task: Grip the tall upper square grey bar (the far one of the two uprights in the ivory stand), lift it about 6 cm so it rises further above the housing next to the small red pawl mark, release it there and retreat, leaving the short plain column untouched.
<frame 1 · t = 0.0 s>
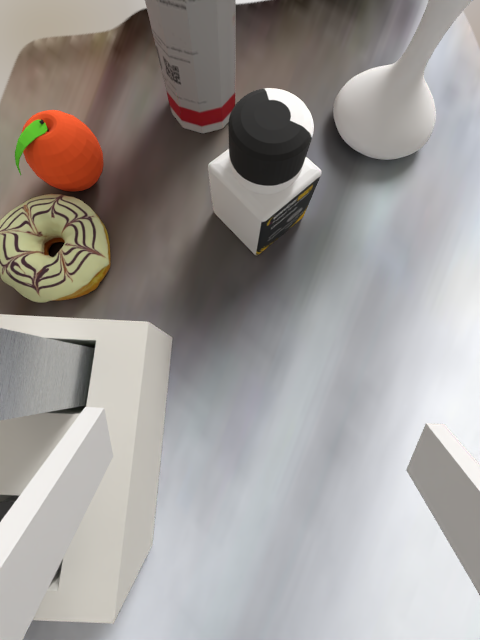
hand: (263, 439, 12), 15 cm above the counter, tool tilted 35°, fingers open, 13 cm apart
housing: (98, 430, 26), on the counter
medicine bottle: (258, 215, 31), on the counter
spray bottle: (203, 107, 34), on the counter
decorated donut: (67, 257, 30), on the counter
clementine: (80, 181, 32), on the counter
upper square grey bar: (41, 374, 18), point 9 cm above the counter, slide at 0.0 cm
column plain: (40, 528, 19), point 6 cm above the counter, slide at 0.0 cm
flower in vase: (378, 124, 34), on the counter
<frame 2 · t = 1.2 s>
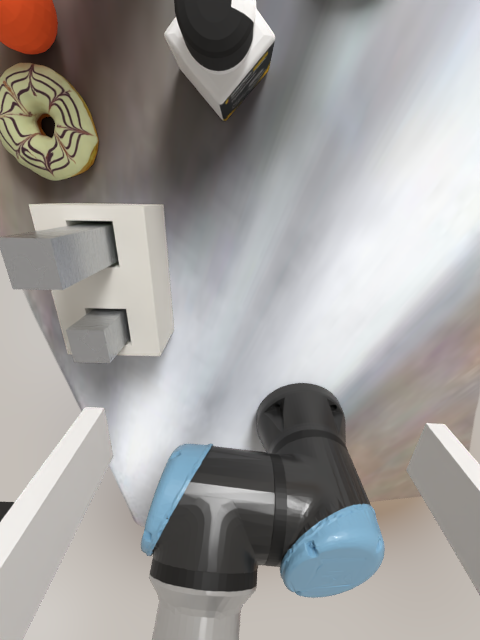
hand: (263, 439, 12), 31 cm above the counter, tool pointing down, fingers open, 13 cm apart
housing: (127, 271, 40), on the counter
medicine bottle: (224, 69, 31), on the counter
decorated donut: (58, 130, 34), on the counter
clementine: (37, 30, 30), on the counter
upper square grey bar: (87, 246, 30), point 9 cm above the counter, slide at 0.0 cm
column plain: (113, 322, 36), point 7 cm above the counter, slide at 0.0 cm
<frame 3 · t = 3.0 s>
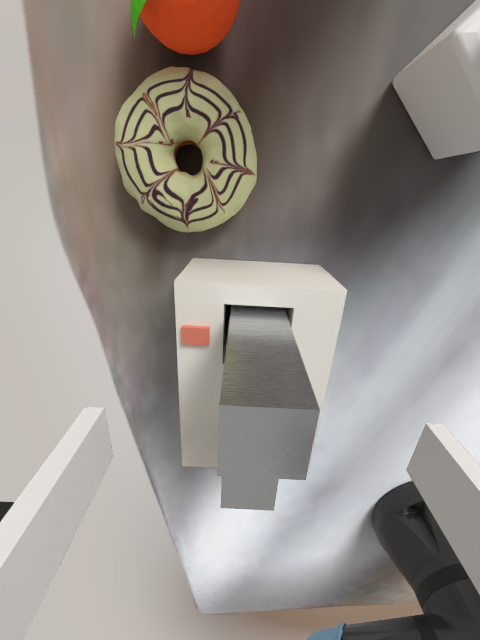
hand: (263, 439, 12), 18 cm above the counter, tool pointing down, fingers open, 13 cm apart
housing: (250, 344, 30), on the counter
medicine bottle: (453, 87, 22), on the counter
decorated donut: (192, 162, 24), on the counter
clementine: (190, 19, 20), on the counter
upper square grey bar: (257, 345, 20), point 9 cm above the counter, slide at 0.0 cm
column plain: (248, 425, 27), point 7 cm above the counter, slide at 0.0 cm
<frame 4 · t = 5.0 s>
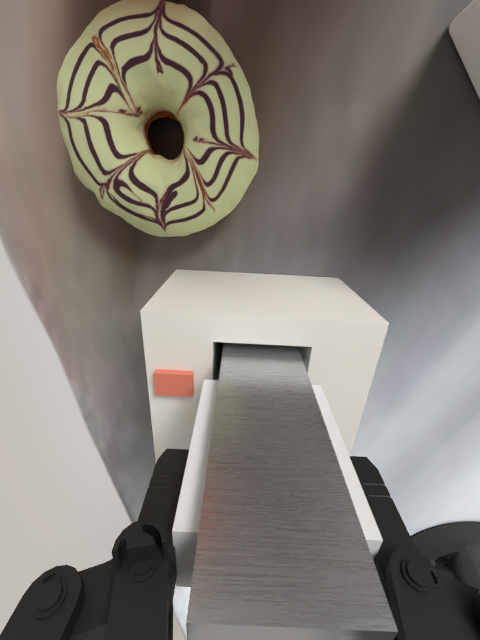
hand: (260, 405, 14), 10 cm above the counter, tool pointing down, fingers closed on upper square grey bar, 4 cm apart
housing: (249, 374, 25), on the counter
decorated donut: (172, 143, 18), on the counter
upper square grey bar: (259, 400, 14), point 9 cm above the counter, slide at 0.0 cm, touching gripper
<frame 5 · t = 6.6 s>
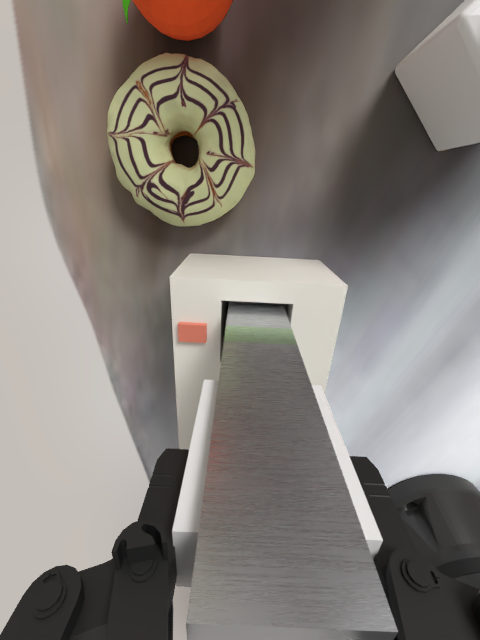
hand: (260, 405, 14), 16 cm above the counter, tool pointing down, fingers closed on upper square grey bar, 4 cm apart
housing: (248, 341, 30), on the counter
medicine bottle: (457, 75, 21), on the counter
decorated donut: (189, 154, 23), on the counter
clementine: (185, 3, 19), on the counter
upper square grey bar: (259, 400, 14), point 15 cm above the counter, slide at 5.9 cm, touching gripper
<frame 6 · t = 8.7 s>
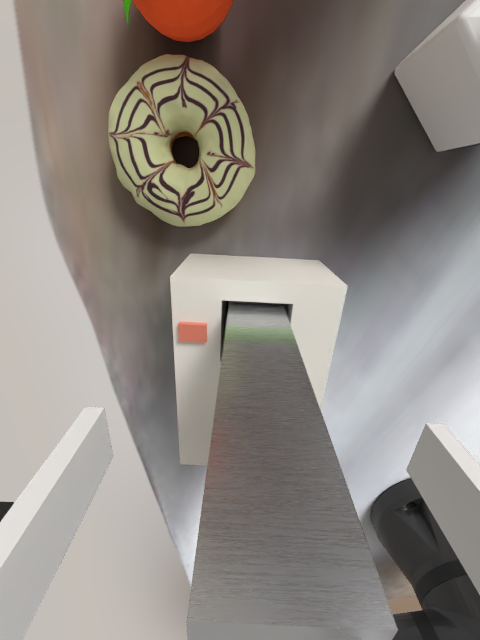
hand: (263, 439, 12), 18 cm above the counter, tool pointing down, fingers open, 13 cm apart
housing: (248, 341, 30), on the counter
medicine bottle: (456, 77, 21), on the counter
decorated donut: (189, 155, 23), on the counter
clementine: (185, 5, 20), on the counter
upper square grey bar: (260, 400, 14), point 15 cm above the counter, slide at 6.0 cm
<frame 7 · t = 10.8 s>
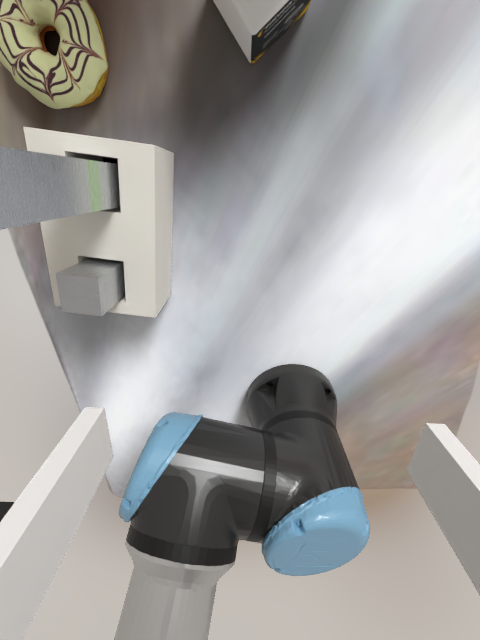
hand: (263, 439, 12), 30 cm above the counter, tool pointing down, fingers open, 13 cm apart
housing: (127, 225, 37), on the counter
medicine bottle: (258, 2, 28), on the counter
decorated donut: (63, 51, 30), on the counter
upper square grey bar: (47, 183, 21), point 15 cm above the counter, slide at 6.0 cm
column plain: (108, 276, 34), point 7 cm above the counter, slide at 0.0 cm
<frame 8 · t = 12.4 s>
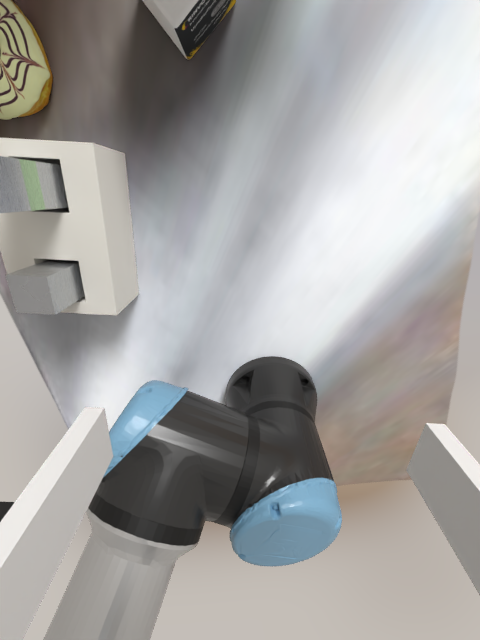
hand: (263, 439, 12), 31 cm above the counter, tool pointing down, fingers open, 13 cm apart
housing: (87, 228, 38), on the counter
medicine bottle: (188, 0, 29), on the counter
decorated donut: (9, 64, 31), on the counter
column plain: (68, 277, 34), point 7 cm above the counter, slide at 0.0 cm
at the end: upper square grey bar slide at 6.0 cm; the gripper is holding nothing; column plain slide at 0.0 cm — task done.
